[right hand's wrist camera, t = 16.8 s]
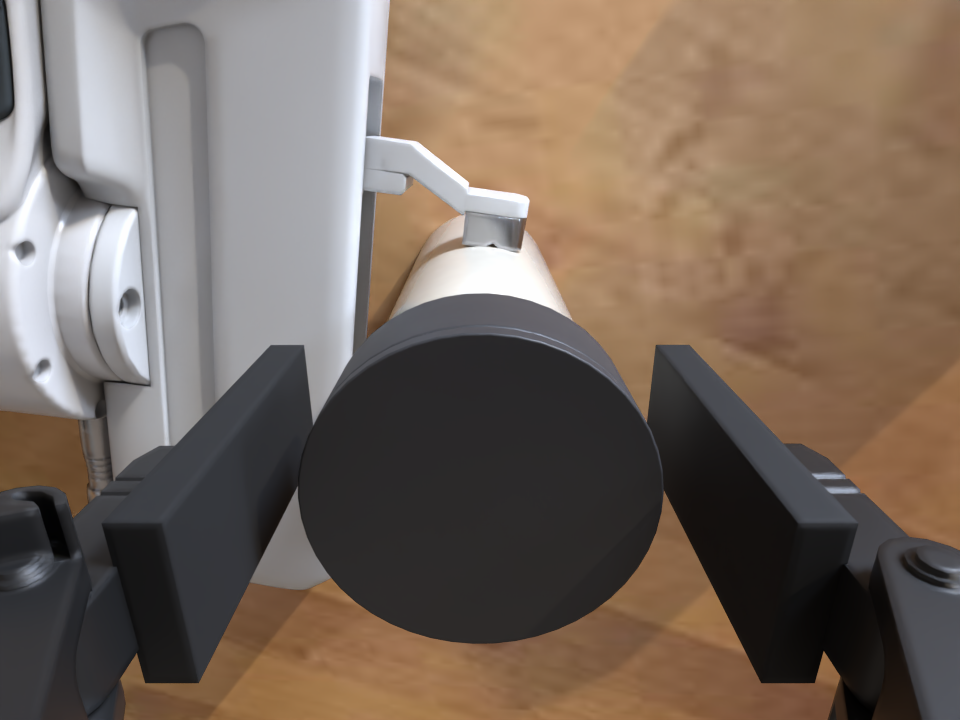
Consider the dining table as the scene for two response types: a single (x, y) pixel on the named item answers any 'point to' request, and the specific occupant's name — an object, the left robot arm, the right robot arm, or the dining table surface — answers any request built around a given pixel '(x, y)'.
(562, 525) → the lid
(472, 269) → the white cylinder
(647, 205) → the dining table surface
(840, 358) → the dining table surface
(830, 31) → the dining table surface
